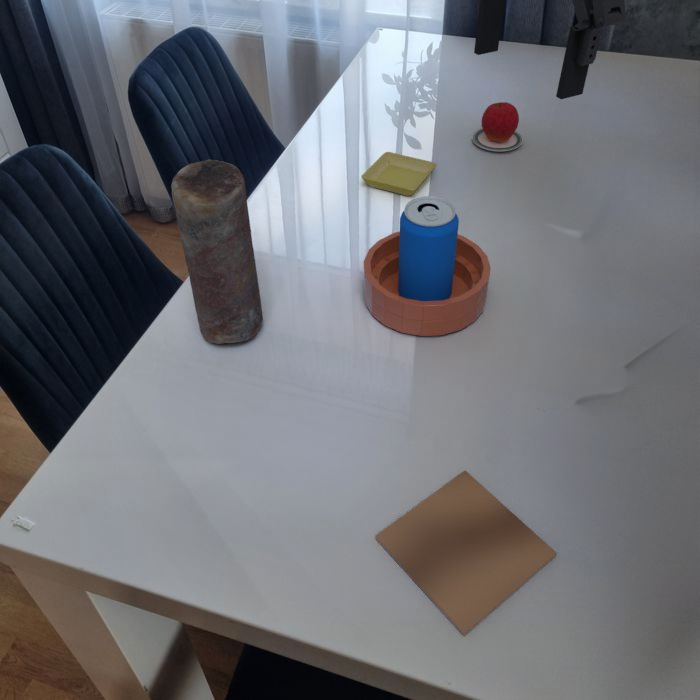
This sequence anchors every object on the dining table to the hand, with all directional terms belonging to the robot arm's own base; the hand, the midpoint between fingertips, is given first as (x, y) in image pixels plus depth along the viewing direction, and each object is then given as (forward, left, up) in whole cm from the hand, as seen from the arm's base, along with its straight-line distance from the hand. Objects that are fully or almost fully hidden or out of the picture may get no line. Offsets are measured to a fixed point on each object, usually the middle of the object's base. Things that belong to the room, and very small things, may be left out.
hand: (524, 72), depth 71 cm
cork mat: (-27, +33, -24) cm, 49 cm away
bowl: (0, +13, -24) cm, 27 cm away
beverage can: (0, +13, -24) cm, 27 cm away
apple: (+21, -22, -24) cm, 39 cm away
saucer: (+22, -2, -24) cm, 33 cm away
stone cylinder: (+10, +34, -24) cm, 43 cm away
